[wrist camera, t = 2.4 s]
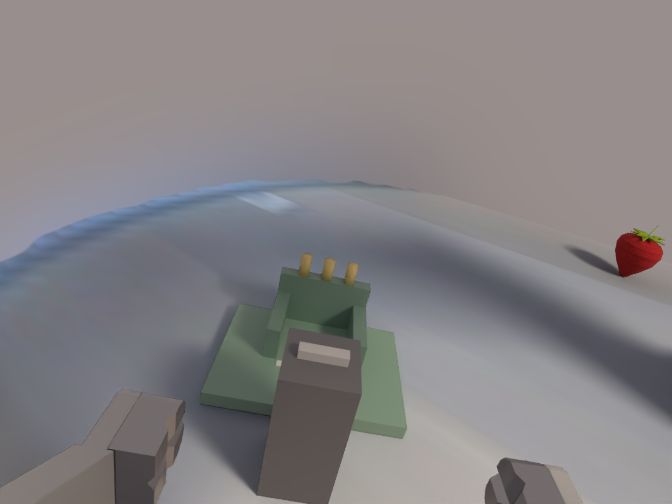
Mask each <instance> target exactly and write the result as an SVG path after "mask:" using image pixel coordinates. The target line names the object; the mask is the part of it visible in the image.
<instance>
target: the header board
mask: <svg viewBox="0 0 672 504" xmlns="http://www.w3.org/2000/svg"><path fill="white" fill-rule="evenodd" d="M311 262H312V255H310V254H307V253H304V254H302V257H301V263H300V268H299V270H296V269H291V268H286V267H283V268H282V272H281V276H280V282H279V288H278V293H277V296H276V299H275V303H274V306H273V309H272V310H271V309H266V308H261V307H255V306H250V305H245V304H239V306H238V308H237V310H236V312H235V315H234V317H233V319H232V322H231V324H230V326H229V328H228V331H227V333H226V335H225V338H224V340H223V342H222V344H221V347H220V349H219V351H218V354H217V356H216V358H215V361H214V363H213V365H212V367H211V370H210V372H209V374H208V377H207V379H206V381H205V383H204V386H203V388H202V390H201V395H200V404H205V405H211V406H217V407H222V408H228V409H234V410H240V411H246V412H251V413H257V414H263V415H269V416H271V414H272V408H273V403H274V397H275V392H276V386H277V381H278V376H279V372H280V367H281V363H282V358H283V354H284V349H285V345H286V340H287V336H288V331H289V327H290V328H296V329H301V330H307V331H312V332H318V333H323V334H328V335H334V336H339V337H345V338H350V339H355V340H361V377H362V396H361V399H360V402H359V406H358V409H357V412H356V415H355V419H354V422H353V425H352V428H351V430H355V431H361V432H367V433H372V434H378V435H384V436H390V437H396V438H401V439H403V437H404V435H405V432H406V430H407V425H406V417H405V410H404V403H403V396H402V389H401V381H400V374H399V367H398V360H397V352H396V345H395V338H394V332H389V331H383V330H378V329H373V328H367V327H366V304H367V301H368V297H369V293H370V284H368V283H363V282H358V281H355V278H356V274H357V270H358V264H356V263H353V262H350V263H348V266H347V270H346V275H345V279H342V278H337V277H332V275H333V271H334V266H335V262H336V261H335V260H334V259H332V258H326V259H325V262H324V267H323V272H322V274H316V273H311V272H310V267H311Z"/></svg>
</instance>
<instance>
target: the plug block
mask: <svg viewBox="0 0 672 504" xmlns="http://www.w3.org/2000/svg"><path fill="white" fill-rule="evenodd" d="M361 396H362V377H361V340H355V339H350V338H345V337H339V336H334V335H328V334H323V333H318V332H312V331H307V330H301V329H296V328H290V327H289V331H288V336H287V340H286V345H285V349H284V354H283V358H282V363H281V367H280V372H279V376H278V381H277V386H276V392H275V397H274V403H273V408H272V414H271V419H270V425H269V430H268V436H267V441H266V447H265V452H264V457H263V463H262V468H261V474H260V479H259V485H258V490H257V495H258V496H264V497H270V498H277V499H283V500H289V501H295V502H301V503H308V504H328V503H329V499H330V496H331V493H332V490H333V486H334V483H335V480H336V477H337V473H338V470H339V467H340V464H341V461H342V457H343V454H344V451H345V448H346V444H347V441H348V438H349V435H350V431H351V428H352V425H353V422H354V419H355V415H356V412H357V409H358V406H359V402H360V399H361Z"/></svg>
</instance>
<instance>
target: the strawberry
mask: <svg viewBox="0 0 672 504" xmlns="http://www.w3.org/2000/svg"><path fill="white" fill-rule="evenodd" d="M657 227H658V226H657ZM657 227H656V228H657ZM656 228H655V229H656ZM655 229H654V230H655ZM634 230H636V231H637V232H634V231H631V232H633V233H636V234H633V233H627V234H623V235H622V236H621V237H620V238H619V239H618V240H617V244H616V248H615V253H616V261H617V265H618V269H619V273H620V275H621V276H623V277H627V276H630V275H633V274H636V273H639V272H642V271H644V270H647V269H649V268H651V267H653V266H654V265H655V264H656V263H658V262H659V261H660V260H661V258H662V255H663V251H662V248H661V246H659V245H658V244H657V242H658V243H660V244H662V245H664V244H663V243H662V242H661V241H660V240H664V239H662V238H659V237H657V236H651V237H649V236H650V234H647V233H645V232H643V231H640V230H637V229H634ZM654 230H653V231H654ZM653 231H652V232H653ZM652 232H651V233H652Z"/></svg>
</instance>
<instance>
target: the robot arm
mask: <svg viewBox="0 0 672 504" xmlns="http://www.w3.org/2000/svg"><path fill="white" fill-rule="evenodd" d="M184 412H185V401H182V400H178V399H173V398H168V397H163V396H158V395H153V394H148V393H143V392H137V391H132V390H127V389H122V390H120V391H119V392H118V393H117V394H116V395H115V397H114V398H113V400H112V401H111V403H110V404H109V406H108V407H107V409H106V410H105V411H104V413H103V414H102V416H101V417H100V419H99V420H98V422H97V423H96V425H95V426H94V428H93V429H92V431H91V432H90V433H89V435H88V436H87V438H86V439H85V441H84V442H83V444H82V445H77V444H74V445H73V446H71V447H69V448H68V449H66V450H64V451H62V452H61V453H59V454H57V455H56V456H54V457H52V458H50V459H49V460H47V461H45V462H44V463H42V464H40V465H38V466H37V467H35V468H33V469H32V470H30V471H28V472H26V473H25V474H23V475H21V476H20V477H18V478H16V479H14V480H13V481H11V482H9V483H8V484H6V485H4V486H2V487H1V488H0V504H156V503H157V501H158V498H159V496H160V494H161V491H162V489H163V487H164V485H165V482H166V469H168V468H169V467H170V466H172V465H173V463H174V461H175V459H176V456H177V454H178V451H179V447H180V444H181V441H182V436H183V430H184V424H183V422H182V421H181V419H182V417H183V414H184ZM497 469H498V472H499V474H497V475H495V476H493V477H491V478H490V479H489V481H488V483H487V485H486V489H485V504H583V502H582V500H581V498H580V496H579V494H578V492H577V490H576V488H575V486H574V485H573V483H572V481H571V479H570V477H569V475H568V473H567V472H566V471H565V470H564V469H563V468H562V467H557V466H551V465H545V464H540V463H535V462H529V461H523V460H517V459H511V458H503V459H502V460H500V462H499V464H498V465H497Z"/></svg>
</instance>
